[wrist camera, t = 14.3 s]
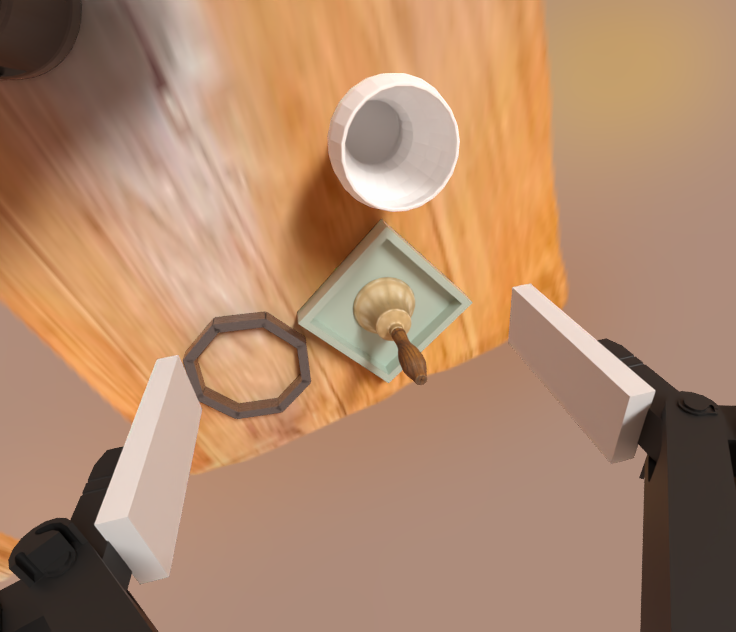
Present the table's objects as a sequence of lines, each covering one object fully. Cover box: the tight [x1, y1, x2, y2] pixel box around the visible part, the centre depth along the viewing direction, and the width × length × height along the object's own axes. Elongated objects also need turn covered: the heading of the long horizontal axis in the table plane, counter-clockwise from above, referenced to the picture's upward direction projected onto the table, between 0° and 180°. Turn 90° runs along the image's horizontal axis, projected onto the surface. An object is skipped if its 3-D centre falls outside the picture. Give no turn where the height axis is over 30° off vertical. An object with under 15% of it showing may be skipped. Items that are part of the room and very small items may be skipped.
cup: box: [328, 73, 460, 212], centre depth 39 cm, size 11×11×15 cm
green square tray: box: [297, 219, 472, 383], centre depth 55 cm, size 16×16×3 cm
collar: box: [183, 312, 311, 419], centre depth 57 cm, size 15×15×2 cm
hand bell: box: [353, 277, 427, 385], centre depth 49 cm, size 8×8×16 cm
